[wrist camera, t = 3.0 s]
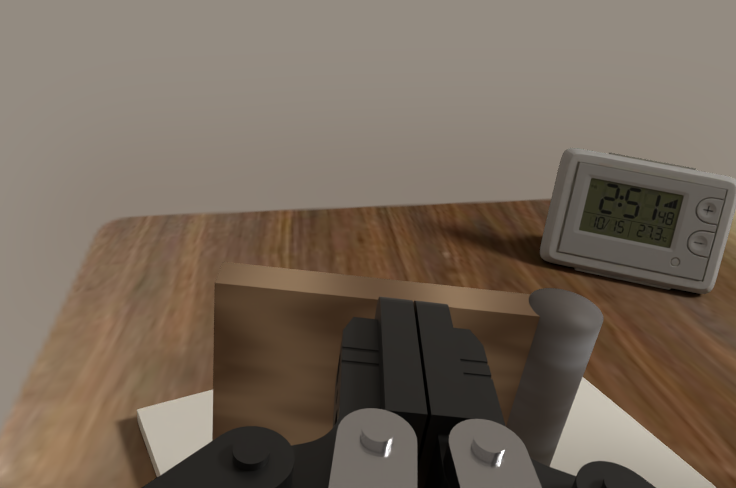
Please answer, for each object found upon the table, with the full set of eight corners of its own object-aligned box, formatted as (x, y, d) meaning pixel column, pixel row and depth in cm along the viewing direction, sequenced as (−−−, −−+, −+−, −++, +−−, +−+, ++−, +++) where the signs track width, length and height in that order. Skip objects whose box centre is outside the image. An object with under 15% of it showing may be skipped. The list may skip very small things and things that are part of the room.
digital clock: (528, 262, 60) (558, 157, 55) (544, 227, 68) (571, 132, 63) (711, 317, 56) (761, 208, 51) (706, 273, 63) (750, 174, 58)
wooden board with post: (709, 515, 34) (821, 317, 28) (738, 567, 31) (868, 360, 25) (220, 474, 32) (226, 253, 26) (208, 525, 30) (211, 292, 24)
